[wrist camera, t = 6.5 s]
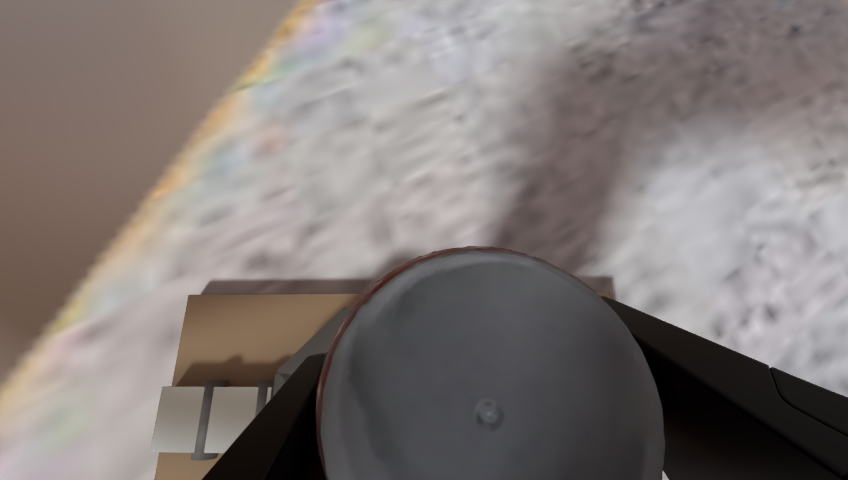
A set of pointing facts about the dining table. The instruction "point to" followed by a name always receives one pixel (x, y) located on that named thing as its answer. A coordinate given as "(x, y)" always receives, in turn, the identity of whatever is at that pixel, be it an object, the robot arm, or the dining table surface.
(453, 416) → the supplement bottle
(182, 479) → the octagonal bottle holder
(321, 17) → the dining table surface
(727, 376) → the robot arm
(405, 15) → the dining table surface
